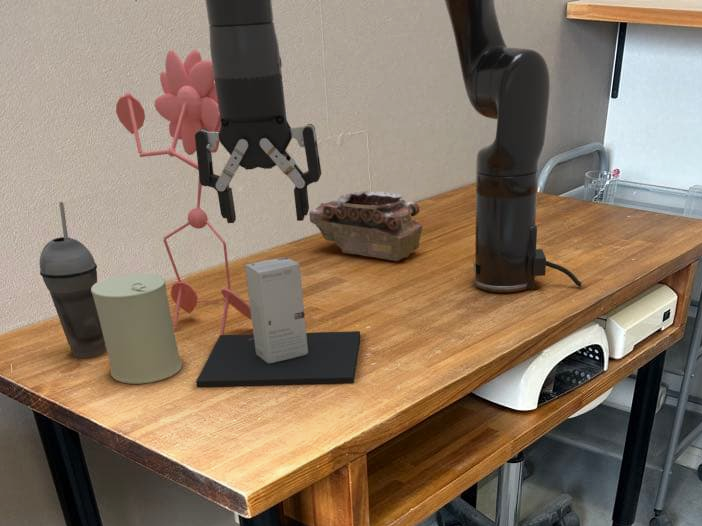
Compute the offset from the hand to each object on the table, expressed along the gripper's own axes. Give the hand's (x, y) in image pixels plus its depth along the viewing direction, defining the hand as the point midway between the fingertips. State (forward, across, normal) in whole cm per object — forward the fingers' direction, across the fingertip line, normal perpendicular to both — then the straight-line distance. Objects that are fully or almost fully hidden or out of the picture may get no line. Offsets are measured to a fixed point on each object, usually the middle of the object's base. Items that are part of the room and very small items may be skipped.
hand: (266, 220), depth 105 cm
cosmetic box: (+18, 0, 0) cm, 18 cm away
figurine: (+18, -10, +16) cm, 26 cm away
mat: (+18, 0, 0) cm, 18 cm away
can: (+18, -18, -2) cm, 26 cm away
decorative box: (+19, +8, +48) cm, 52 cm away
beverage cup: (+18, -28, +5) cm, 34 cm away
